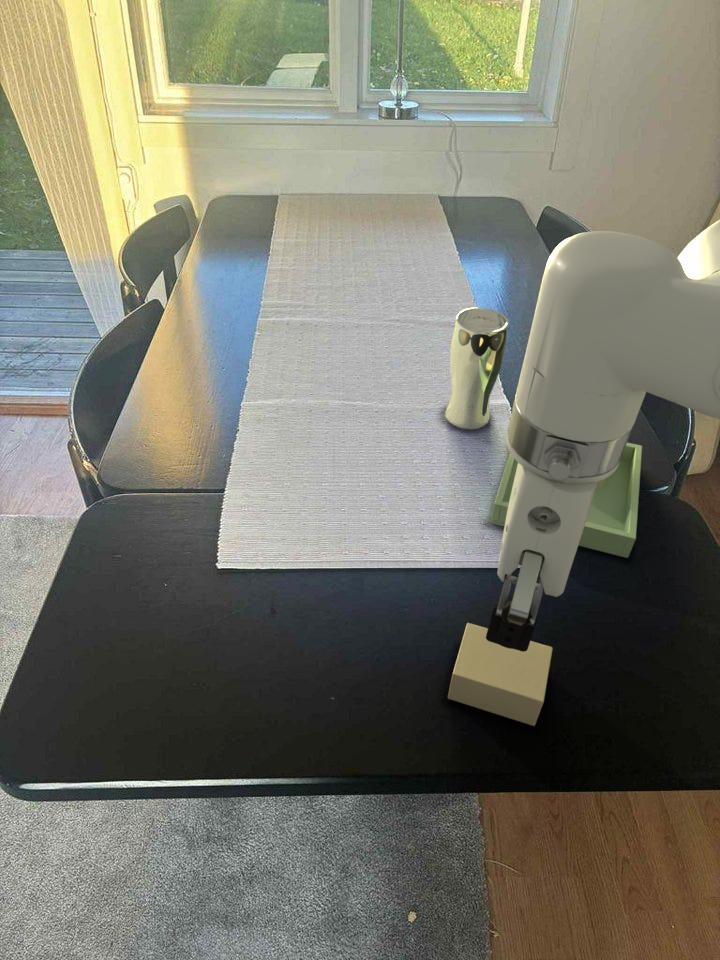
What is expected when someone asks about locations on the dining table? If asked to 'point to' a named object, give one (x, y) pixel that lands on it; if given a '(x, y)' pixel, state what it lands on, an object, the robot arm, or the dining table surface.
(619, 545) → the tray
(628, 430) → the robot arm
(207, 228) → the dining table surface
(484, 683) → the tan rectangular block
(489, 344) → the beer glass
